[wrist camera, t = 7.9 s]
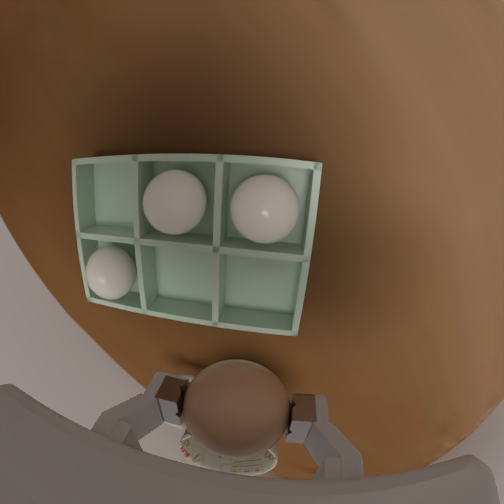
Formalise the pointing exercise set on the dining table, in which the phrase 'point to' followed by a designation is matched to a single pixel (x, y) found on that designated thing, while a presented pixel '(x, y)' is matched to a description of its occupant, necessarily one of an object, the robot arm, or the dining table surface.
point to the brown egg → (236, 408)
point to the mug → (224, 464)
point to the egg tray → (198, 241)
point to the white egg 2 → (175, 202)
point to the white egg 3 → (265, 208)
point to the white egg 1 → (110, 272)
